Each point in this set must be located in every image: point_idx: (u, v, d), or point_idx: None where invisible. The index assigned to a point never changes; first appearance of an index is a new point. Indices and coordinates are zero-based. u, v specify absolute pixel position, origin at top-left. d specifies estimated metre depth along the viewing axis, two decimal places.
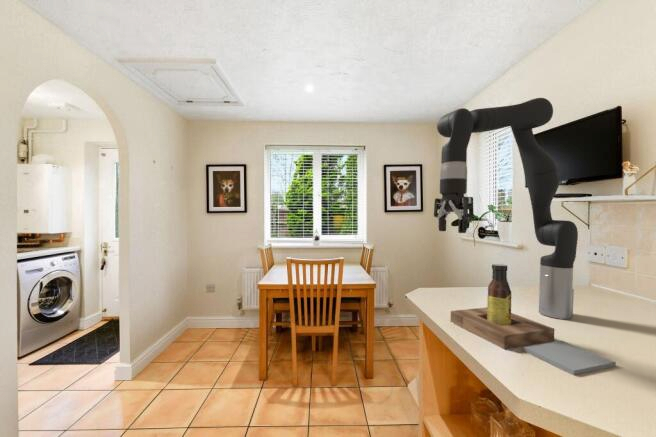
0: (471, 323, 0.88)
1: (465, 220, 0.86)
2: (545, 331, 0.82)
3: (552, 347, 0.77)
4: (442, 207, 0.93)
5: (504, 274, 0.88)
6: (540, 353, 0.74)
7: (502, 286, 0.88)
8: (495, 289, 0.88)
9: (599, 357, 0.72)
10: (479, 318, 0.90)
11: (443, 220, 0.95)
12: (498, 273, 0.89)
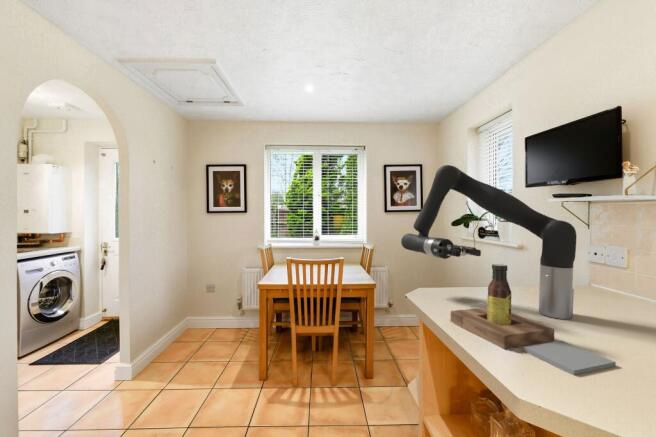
0: (471, 323, 0.88)
1: (449, 252, 1.03)
2: (545, 331, 0.82)
3: (552, 347, 0.77)
4: (459, 255, 1.09)
5: (504, 274, 0.88)
6: (540, 353, 0.74)
7: (502, 286, 0.88)
8: (495, 289, 0.88)
9: (599, 357, 0.72)
10: (479, 318, 0.90)
11: (471, 251, 1.05)
12: (498, 273, 0.89)
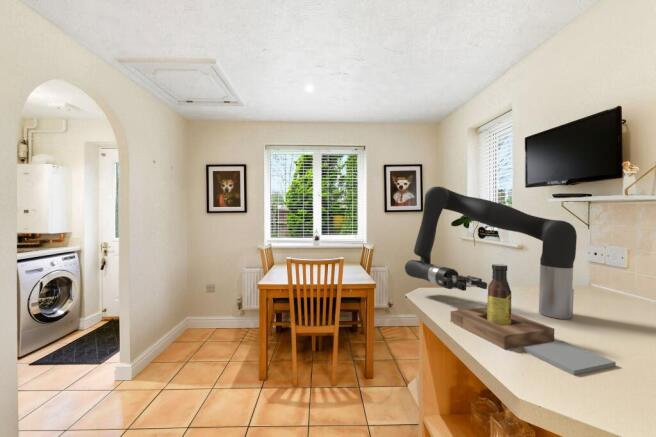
0: (471, 323, 0.88)
1: (454, 285, 1.00)
2: (545, 331, 0.82)
3: (552, 347, 0.77)
4: None
5: (504, 274, 0.88)
6: (540, 353, 0.74)
7: (502, 285, 0.88)
8: (495, 289, 0.88)
9: (599, 357, 0.72)
10: (479, 318, 0.90)
11: (477, 283, 1.03)
12: (498, 273, 0.89)
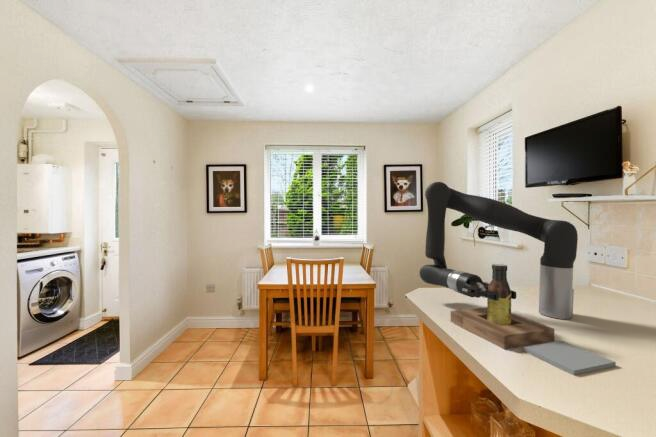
0: (471, 323, 0.88)
1: (484, 293, 0.90)
2: (545, 331, 0.82)
3: (552, 347, 0.77)
4: None
5: (504, 274, 0.88)
6: (540, 353, 0.74)
7: (502, 286, 0.88)
8: (495, 289, 0.88)
9: (599, 357, 0.72)
10: (479, 318, 0.90)
11: None
12: (498, 273, 0.89)
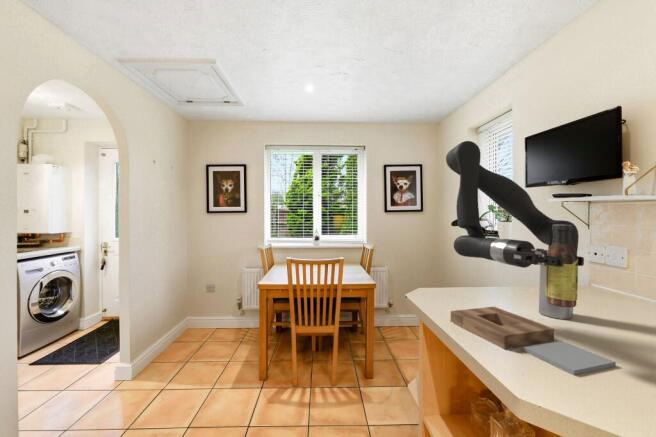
0: (471, 323, 0.88)
1: (543, 259, 0.74)
2: (545, 331, 0.82)
3: (552, 347, 0.77)
4: None
5: (569, 235, 0.73)
6: (540, 353, 0.74)
7: (568, 249, 0.72)
8: (558, 254, 0.73)
9: (599, 357, 0.72)
10: (479, 318, 0.90)
11: None
12: (561, 234, 0.73)
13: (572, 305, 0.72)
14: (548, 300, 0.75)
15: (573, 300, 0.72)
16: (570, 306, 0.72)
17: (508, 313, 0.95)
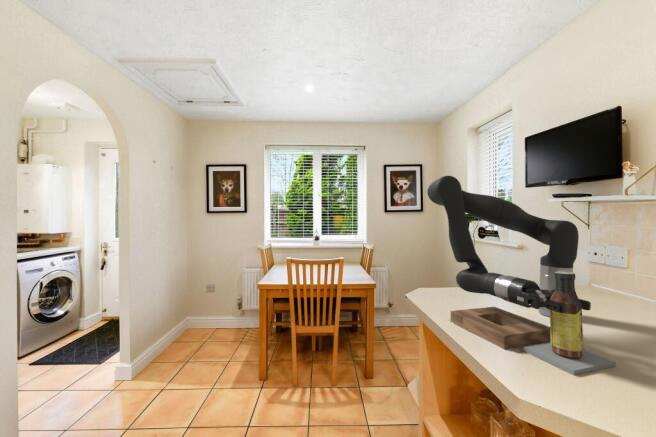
0: (471, 323, 0.88)
1: (545, 304, 0.73)
2: (545, 331, 0.82)
3: None
4: None
5: (572, 284, 0.72)
6: (540, 353, 0.74)
7: (571, 298, 0.71)
8: None
9: (599, 357, 0.72)
10: (479, 318, 0.90)
11: None
12: (564, 283, 0.72)
13: (578, 356, 0.71)
14: (554, 349, 0.74)
15: (579, 351, 0.71)
16: (576, 357, 0.71)
17: (508, 313, 0.95)
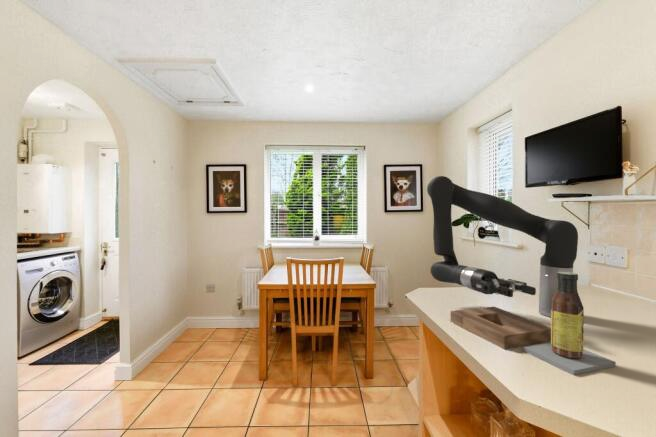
0: (471, 323, 0.88)
1: (497, 290, 0.86)
2: (545, 331, 0.82)
3: None
4: None
5: (574, 285, 0.72)
6: (540, 353, 0.74)
7: (573, 299, 0.71)
8: (563, 303, 0.72)
9: (599, 357, 0.72)
10: (479, 318, 0.90)
11: (523, 288, 0.89)
12: (567, 283, 0.72)
13: (578, 356, 0.71)
14: (554, 349, 0.74)
15: (579, 352, 0.71)
16: (576, 357, 0.71)
17: (508, 313, 0.95)
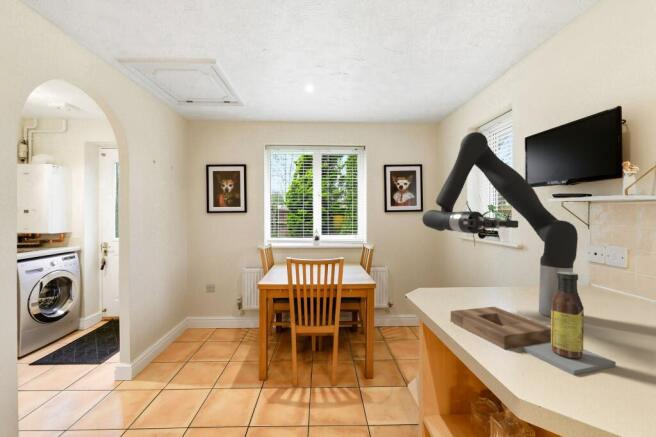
0: (471, 323, 0.88)
1: (482, 223, 0.92)
2: (545, 331, 0.82)
3: None
4: None
5: (575, 285, 0.72)
6: (540, 353, 0.74)
7: (573, 299, 0.71)
8: (563, 303, 0.72)
9: (599, 357, 0.72)
10: (479, 318, 0.90)
11: (506, 223, 0.95)
12: (567, 283, 0.72)
13: (578, 356, 0.71)
14: (554, 349, 0.74)
15: (579, 352, 0.71)
16: (576, 357, 0.71)
17: (508, 313, 0.95)
